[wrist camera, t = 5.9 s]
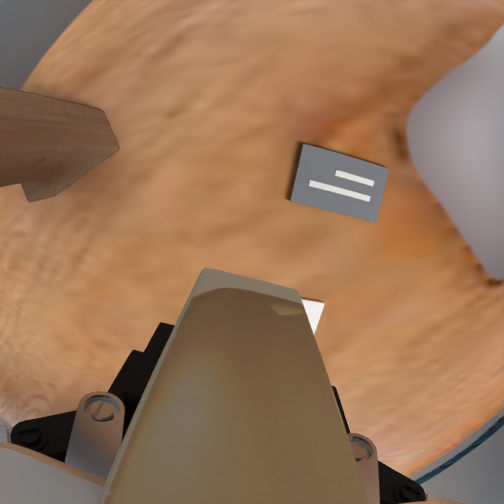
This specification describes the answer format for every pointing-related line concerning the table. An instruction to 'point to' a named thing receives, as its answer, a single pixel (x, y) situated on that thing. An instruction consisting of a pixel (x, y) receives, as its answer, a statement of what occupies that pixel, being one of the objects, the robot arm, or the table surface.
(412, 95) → the table surface
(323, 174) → the slate card
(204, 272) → the skincare box
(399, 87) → the table surface
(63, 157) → the wooden block
